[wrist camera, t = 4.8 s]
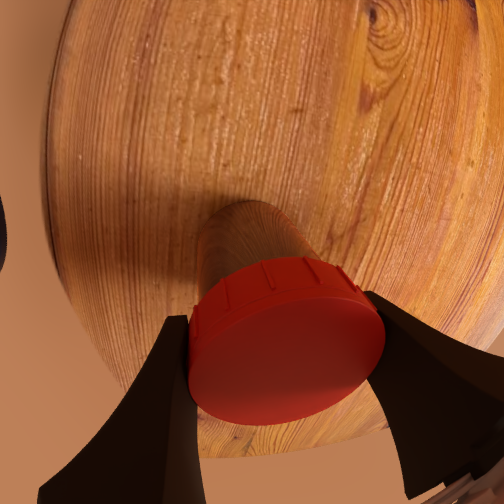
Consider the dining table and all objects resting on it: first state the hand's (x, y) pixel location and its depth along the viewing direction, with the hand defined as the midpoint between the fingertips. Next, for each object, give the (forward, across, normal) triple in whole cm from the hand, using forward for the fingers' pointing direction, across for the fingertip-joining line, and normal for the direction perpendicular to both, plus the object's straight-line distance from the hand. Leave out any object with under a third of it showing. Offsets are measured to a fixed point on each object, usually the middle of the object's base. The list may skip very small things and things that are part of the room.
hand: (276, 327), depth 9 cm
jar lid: (-2, 0, 0) cm, 2 cm away
